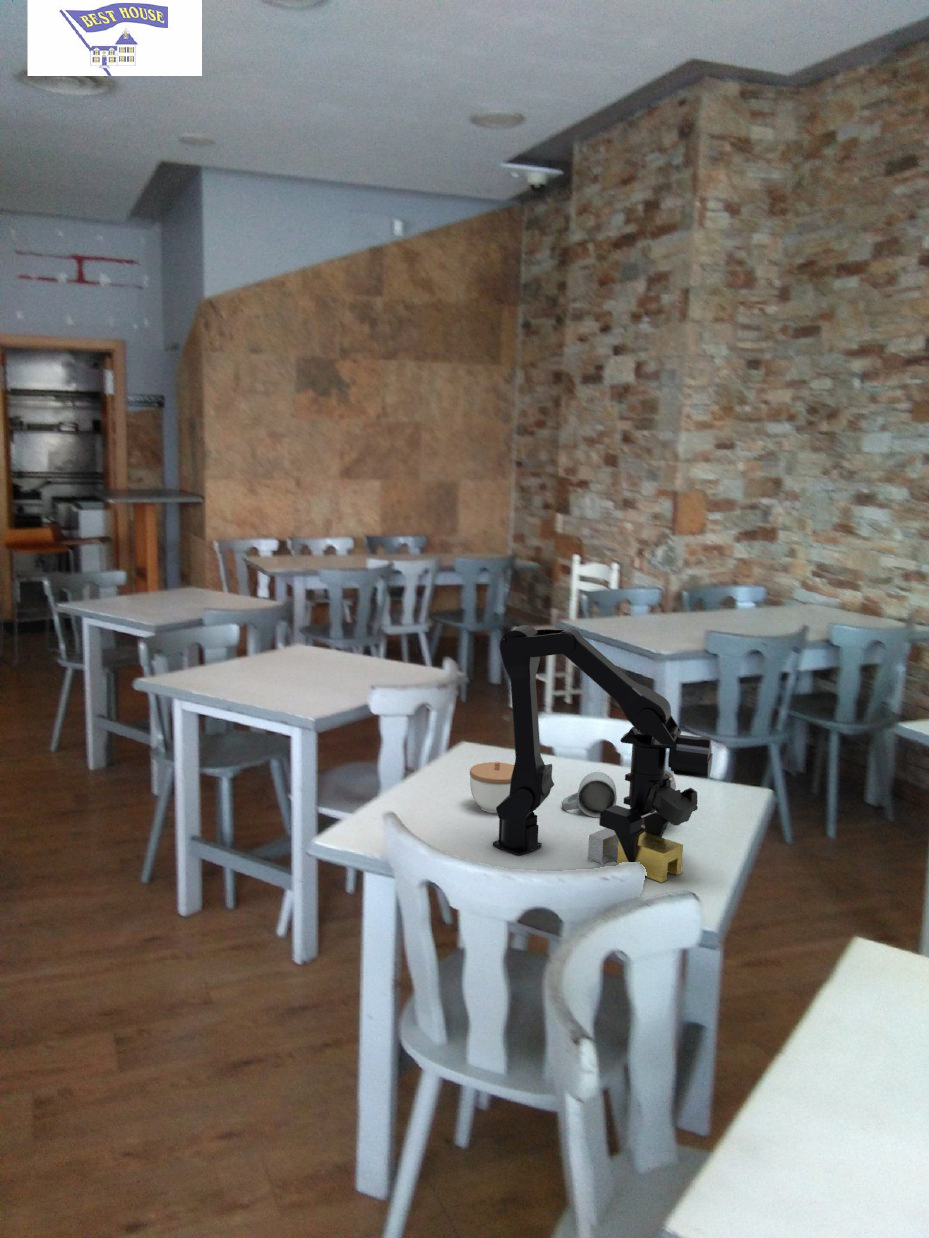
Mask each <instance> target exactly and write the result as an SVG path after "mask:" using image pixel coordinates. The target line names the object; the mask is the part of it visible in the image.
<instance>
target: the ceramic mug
mask: <svg viewBox="0 0 929 1238" xmlns="http://www.w3.org/2000/svg"><path fill="white" fill-rule="evenodd" d="M617 795H618V794H617V788H616V784H615V782H614V780H613V779H612V778H611V777H610V775H608V774H607V773H605V772H601V771H593V772H590V773H588V774H586V775H585V776H584V777H583V778H582V780H581V781H580V783H579V787H578V790H577V792H575V793H572V794H569V795H568V796H566V797H565V798H564V799H562V800H561V805H562V808H563V810H565V811H572V810H575V809H579V810H580V811H581V812H582V813H583V814H585V816H588V817H590V818H596V819H597V818H600V813H601V812H602V811H603V810H605V809H608V808H610V807H613V806H615V805H617V800H618V799H617V797H618V796H617Z"/></svg>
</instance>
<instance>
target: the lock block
mask: <svg viewBox="0 0 929 1238" xmlns="http://www.w3.org/2000/svg"><path fill="white" fill-rule="evenodd" d="M683 853H684V844H683V843H680V842H676V841H675V840H674V841H673V840H670V839H669V838H665V837H663V836H662V837H659V836H656V835H653V834H650V833H646V832H643V833H642V834H641V835H640V836H639V841H638V848H637V854H636V858H635V862H640V864H642V865H643V866H644V867H645V869H646V872H647V877H646V878H648V879H651V880H654V881H657V882H659V883H664V882H666V881H667V880H668V873H670V874H673V875H676V876H677V875H680V874H681V873H682V872H683V871H682V868H683V857H684V855H683ZM622 862H628V860H627V858H626V855H625V853H624V851H623V848H622V846H621V843H620V841H619V842H618V859H617V861H616V865H617V864H619V863H622Z"/></svg>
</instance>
